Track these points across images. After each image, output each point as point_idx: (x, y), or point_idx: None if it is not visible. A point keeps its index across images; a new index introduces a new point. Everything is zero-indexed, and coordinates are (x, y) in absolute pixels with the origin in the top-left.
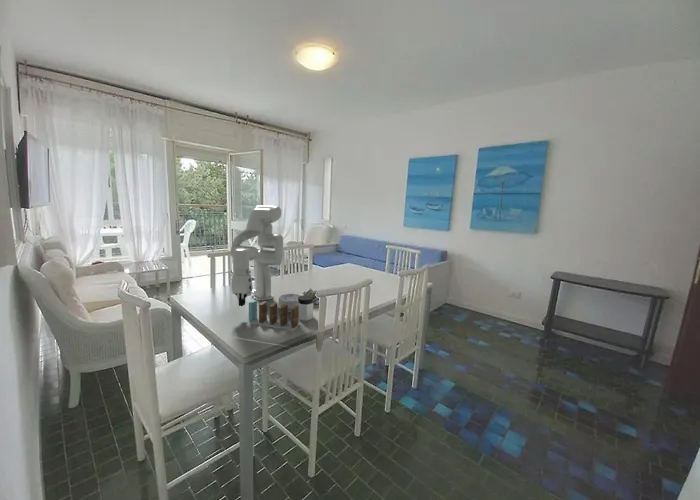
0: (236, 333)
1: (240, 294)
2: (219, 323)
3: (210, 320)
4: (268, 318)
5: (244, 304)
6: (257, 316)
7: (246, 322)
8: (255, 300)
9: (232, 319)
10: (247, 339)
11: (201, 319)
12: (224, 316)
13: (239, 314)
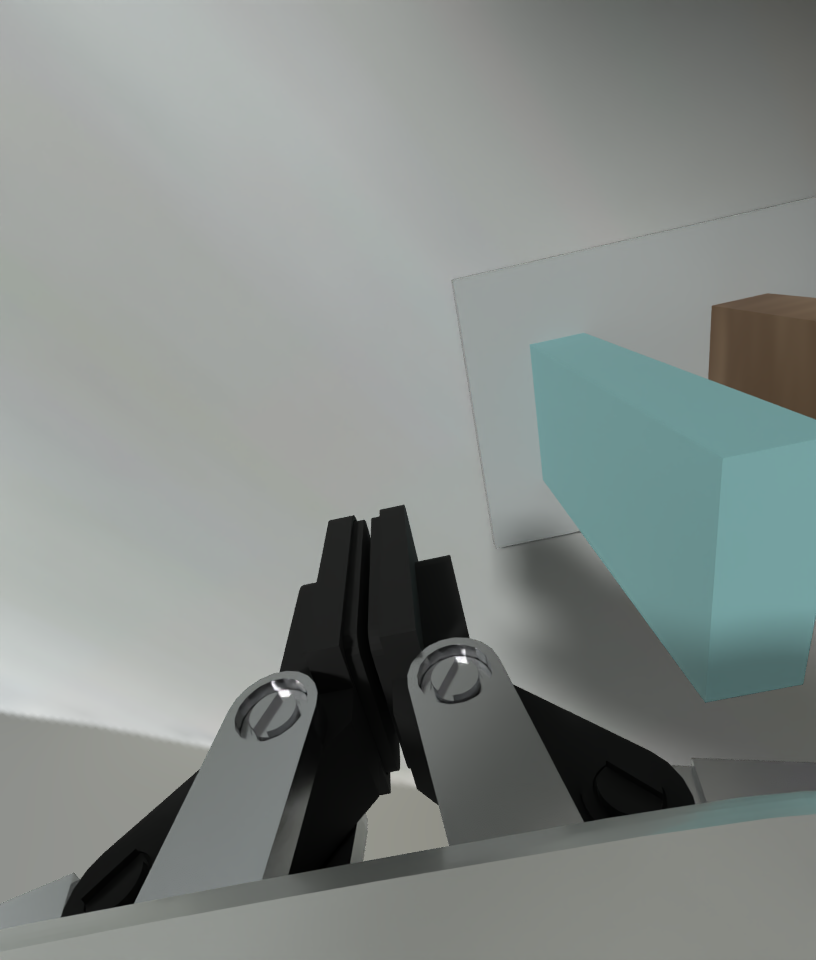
0: (604, 713)
1: (251, 816)
2: (273, 668)
3: (114, 670)
4: (777, 245)
5: (408, 521)
6: (556, 280)
7: (545, 526)
8: (805, 470)
9: (296, 531)
10: (765, 731)
11: (10, 700)
12: (117, 521)
13: (216, 354)
